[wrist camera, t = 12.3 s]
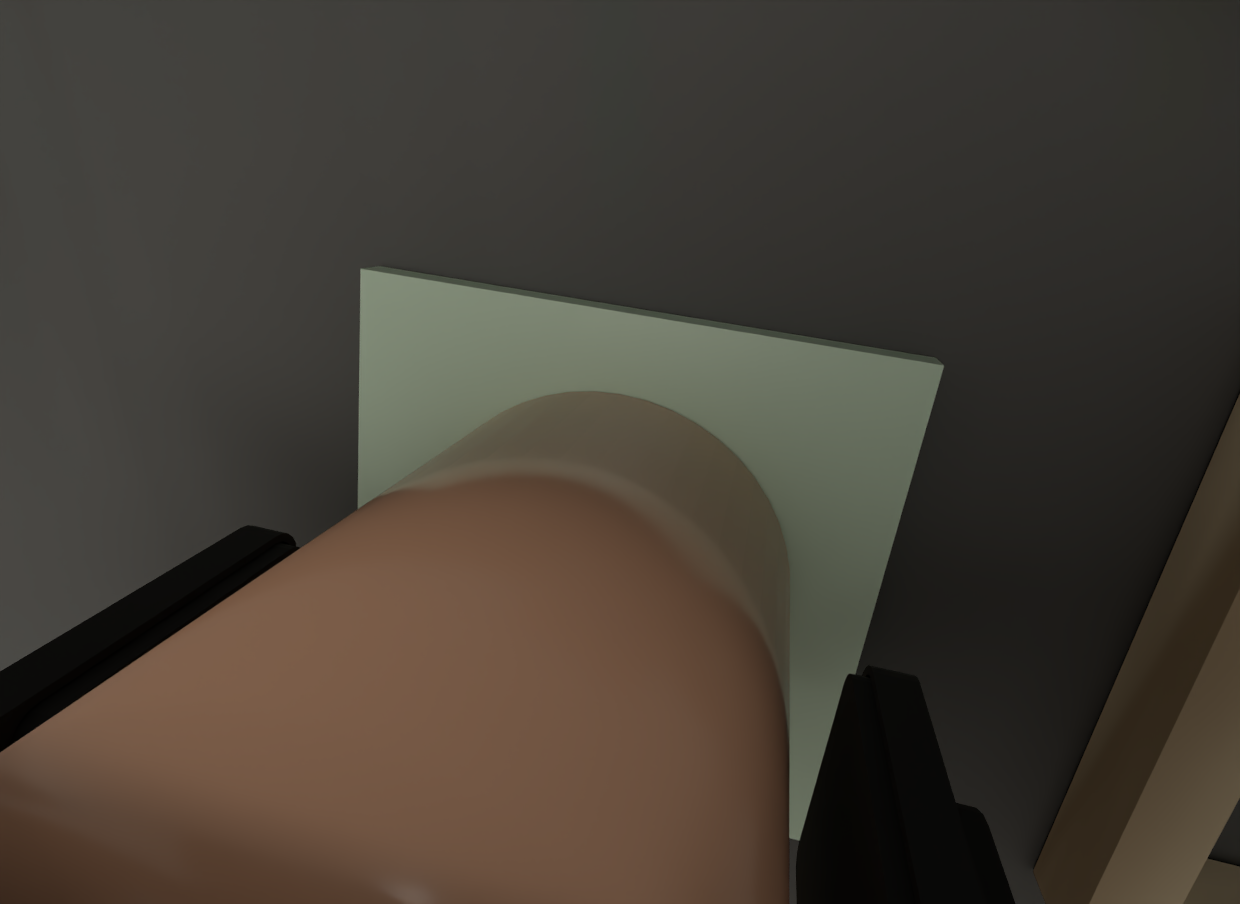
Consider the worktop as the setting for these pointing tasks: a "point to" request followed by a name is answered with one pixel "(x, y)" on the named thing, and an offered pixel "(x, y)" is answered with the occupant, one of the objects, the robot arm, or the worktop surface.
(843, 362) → the mat
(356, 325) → the worktop surface
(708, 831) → the brown domed canister
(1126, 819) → the frame
